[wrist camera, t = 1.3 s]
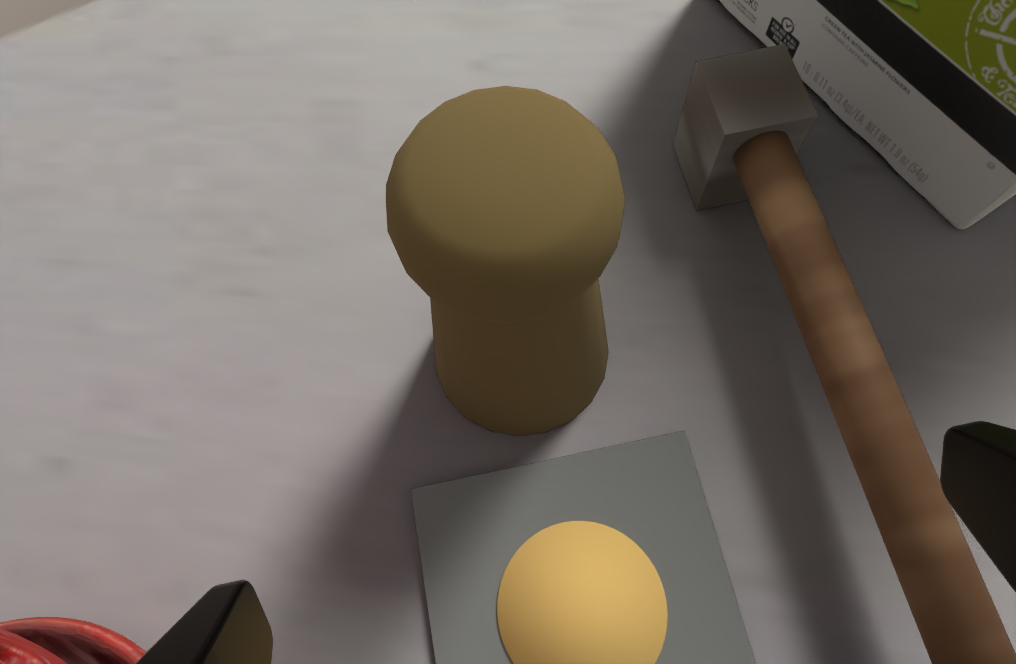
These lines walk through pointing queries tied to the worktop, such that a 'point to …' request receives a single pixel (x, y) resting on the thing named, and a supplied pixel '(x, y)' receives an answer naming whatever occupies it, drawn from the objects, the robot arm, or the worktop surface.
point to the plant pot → (63, 643)
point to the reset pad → (579, 563)
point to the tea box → (912, 86)
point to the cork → (510, 251)
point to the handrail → (837, 337)
